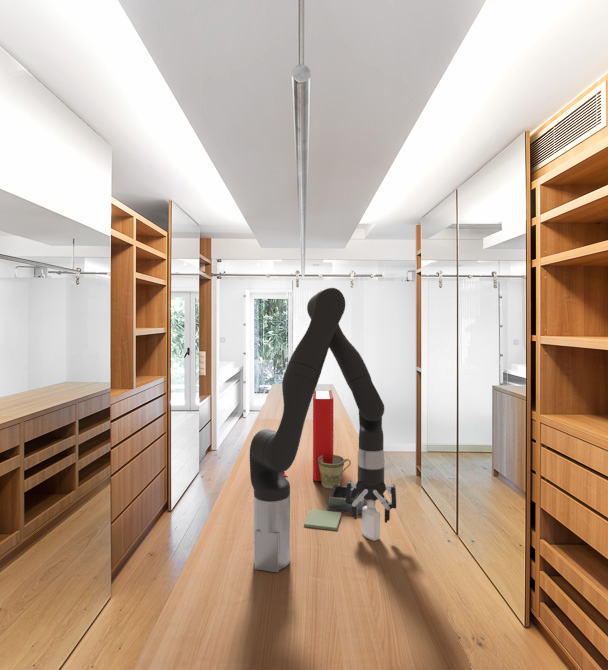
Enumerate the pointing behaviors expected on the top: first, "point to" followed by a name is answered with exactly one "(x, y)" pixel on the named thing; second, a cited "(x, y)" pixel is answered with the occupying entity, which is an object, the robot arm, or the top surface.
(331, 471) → the ceramic cup
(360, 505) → the socket block
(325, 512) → the rubber mat
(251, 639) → the top surface
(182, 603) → the top surface
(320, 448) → the book
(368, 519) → the eye dropper bottle
